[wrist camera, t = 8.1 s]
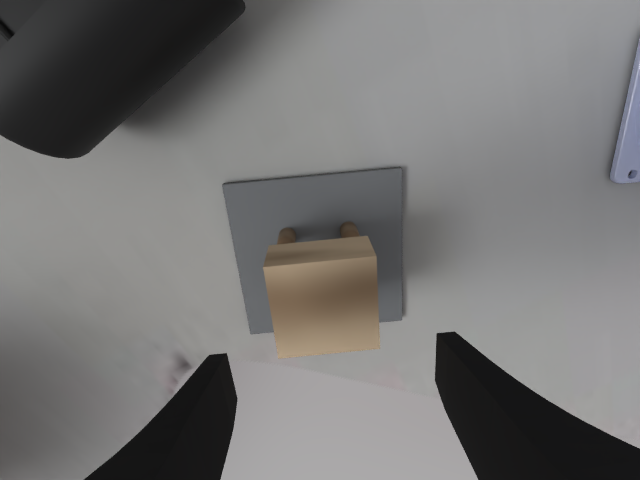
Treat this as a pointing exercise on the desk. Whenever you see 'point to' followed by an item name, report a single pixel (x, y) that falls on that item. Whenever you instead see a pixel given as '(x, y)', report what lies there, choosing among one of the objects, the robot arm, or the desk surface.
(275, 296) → the stool
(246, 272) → the mat
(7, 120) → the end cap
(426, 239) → the desk surface
